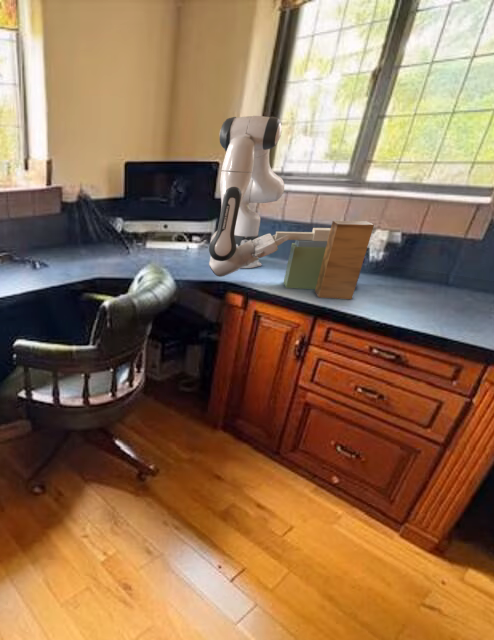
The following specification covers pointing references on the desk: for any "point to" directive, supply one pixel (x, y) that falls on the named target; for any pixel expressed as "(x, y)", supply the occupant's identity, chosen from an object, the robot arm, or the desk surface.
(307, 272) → the green upright rectangular block
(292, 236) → the beige stepped bar
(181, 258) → the desk surface
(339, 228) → the oak stand
